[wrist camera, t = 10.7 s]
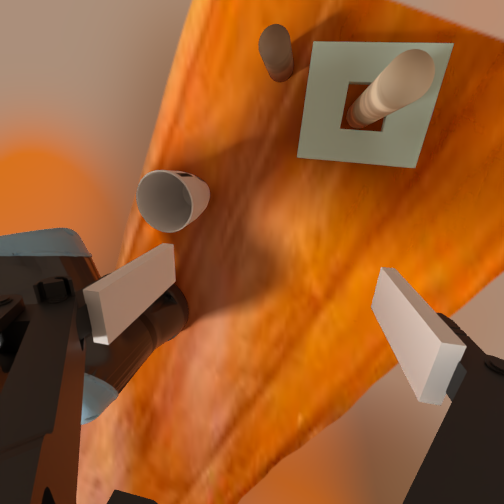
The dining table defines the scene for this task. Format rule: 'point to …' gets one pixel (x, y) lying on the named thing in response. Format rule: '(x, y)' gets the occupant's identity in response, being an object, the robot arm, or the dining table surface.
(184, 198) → the cup
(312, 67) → the bridge
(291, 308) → the dining table surface
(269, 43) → the short pin
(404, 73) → the long pin
